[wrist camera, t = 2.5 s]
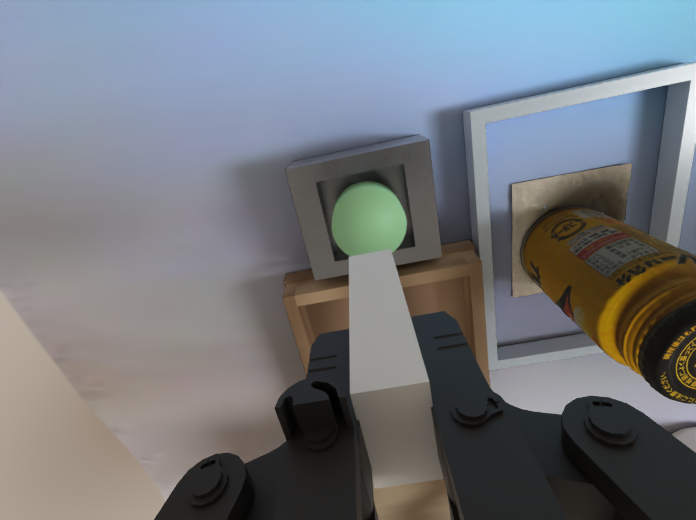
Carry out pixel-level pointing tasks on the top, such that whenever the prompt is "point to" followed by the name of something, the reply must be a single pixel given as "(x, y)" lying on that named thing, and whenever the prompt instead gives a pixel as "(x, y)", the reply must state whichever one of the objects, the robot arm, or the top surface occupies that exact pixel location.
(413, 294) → the brown divided tray
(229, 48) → the top surface
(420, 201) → the button housing
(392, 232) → the button
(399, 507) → the block
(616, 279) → the condiment
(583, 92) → the frame
